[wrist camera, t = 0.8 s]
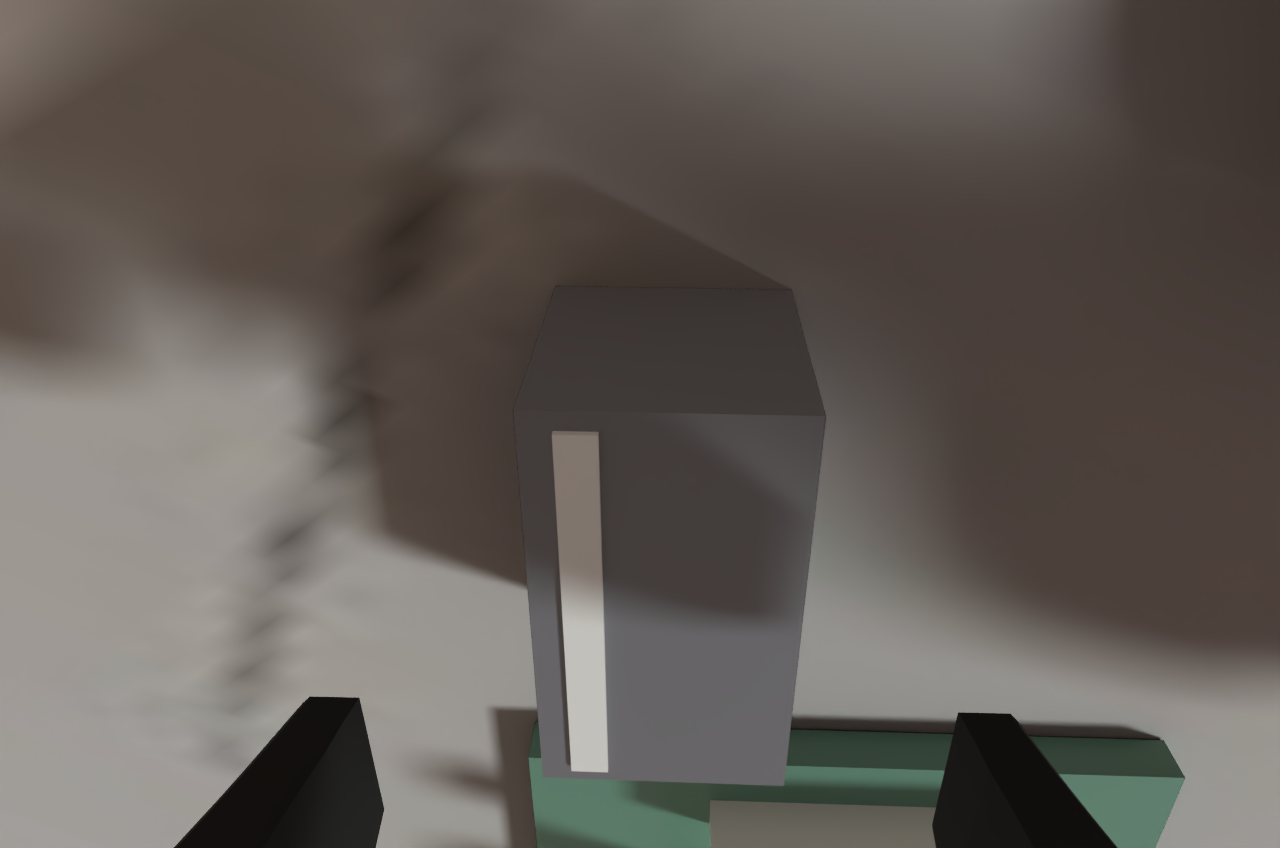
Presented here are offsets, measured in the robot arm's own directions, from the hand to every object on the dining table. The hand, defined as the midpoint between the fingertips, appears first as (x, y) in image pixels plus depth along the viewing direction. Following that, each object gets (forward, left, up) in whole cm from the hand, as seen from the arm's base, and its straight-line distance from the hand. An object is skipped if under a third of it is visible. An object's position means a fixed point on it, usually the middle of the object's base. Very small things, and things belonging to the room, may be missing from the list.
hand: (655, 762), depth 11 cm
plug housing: (0, 0, -7) cm, 7 cm away
